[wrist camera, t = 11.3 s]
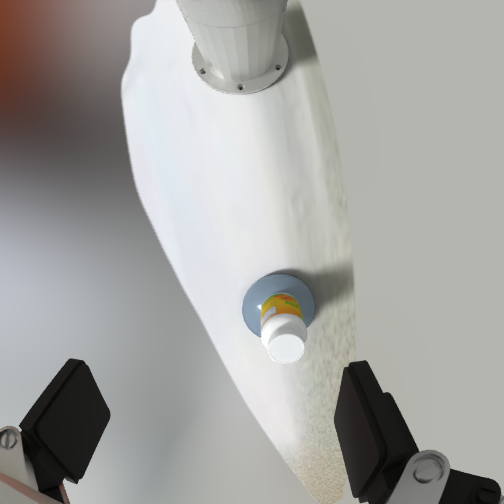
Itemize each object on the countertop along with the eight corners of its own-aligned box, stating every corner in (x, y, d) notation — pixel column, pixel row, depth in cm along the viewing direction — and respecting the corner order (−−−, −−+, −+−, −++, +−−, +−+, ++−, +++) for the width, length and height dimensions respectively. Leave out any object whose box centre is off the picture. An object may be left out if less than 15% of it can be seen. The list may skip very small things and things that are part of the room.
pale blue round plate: (240, 273, 38) (240, 277, 37) (314, 271, 38) (316, 274, 37) (244, 336, 41) (244, 342, 40) (311, 333, 41) (312, 338, 39)
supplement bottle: (307, 307, 38) (322, 346, 29) (280, 333, 39) (286, 376, 30) (279, 283, 37) (287, 318, 28) (252, 310, 38) (250, 351, 29)
